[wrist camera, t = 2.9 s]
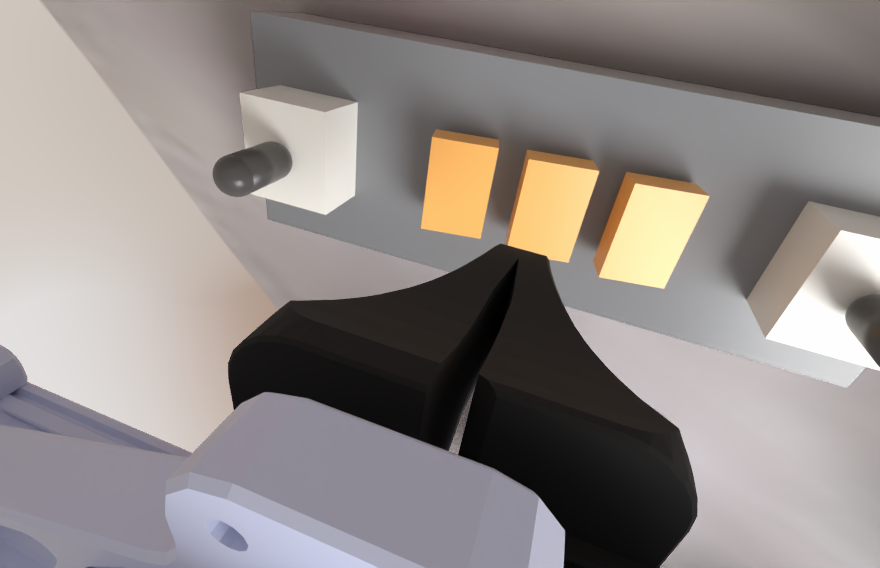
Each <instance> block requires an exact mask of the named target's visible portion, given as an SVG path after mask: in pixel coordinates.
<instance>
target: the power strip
mask: <svg viewBox="0 0 880 568" xmlns="http://www.w3.org/2000/svg"><path fill="white" fill-rule="evenodd" d="M250 18H251V30H252V41H253V53H254V65H255V76H256V88H257V89H261V88H267V87H272V86H278V85H282V86H287V87H292V88H296V89H301V90H305V91H310V92H314V93H319V94H323V95H328V96H333V97H337V98H342V99H346V100H351V101H355V102H358V115H357V148H356V180H355V196H353V197H352V198H350V199H349V200H347V201H346V202H344V203H343V204H341V205H340V206H338V207H337V208H335V209H334V210H333V211H331V212H330V213H328V214H327V215H324V214H320V213H317V212H313V211H310V210H306V209H303V208H299V207H295V206H292V205H288V204H285V203H281V202H278V201H274V200H271V199H267V198H266V204H267V216H268V219H269V220H272V221H276V222H279V223H283V224H286V225H290V226H293V227H296V228H300V229H303V230H307V231H310V232H314V233H317V234H321V235H324V236H327V237H331V238H334V239H338V240H341V241H345V242H348V243H351V244H355V245H358V246H362V247H365V248H369V249H372V250H375V251H379V252H382V253H386V254H389V255H393V256H396V257H399V258H403V259H406V260H410V261H413V262H417V263H420V264H423V265H427V266H430V267H434V268H437V269H441V270H444V271H447V272H452V271H454V270H456V269H458V268H460V267H462V266H464V265H465V264H467V263H469V262H471V261H472V260H474V259H476V258H477V257H479V256H481V255H482V254H484V253H485V252H487V251H488V250H490V249H491V248H493V247H495V246H496V245H498V244H500V243H501V244H504V245H506V235H507V231H508V227H509V222H510V218H511V214H512V210H513V206H514V202H515V198H516V193H517V189H518V185H519V181H520V177H521V173H522V169H523V165H524V160H525V156H526V152H527V150H533V151H539V152H545V153H551V154H557V155H563V156H569V157H575V158H580V159H586V160H592V161H594V163H595V164H596V166H597V168H598V169H599V174H598V177H597V180H596V183H595V186H594V189H593V192H592V195H591V198H590V201H589V204H588V206H587V209H586V212H585V215H584V218H583V221H582V224H581V227H580V230H579V233H578V236H577V239H576V242H575V245H574V248H573V251H572V253H571V256H570V259H569V262H568V263H567V262H561V261H556V260H550V259H549V261H550V268H551V272H552V276H553V279H554V282H555V285H556V288H557V290H558V293H559V295H560V298H561V300H562V303H563V305H564V306H568V307H571V308H574V309H578V310H581V311H585V312H588V313H592V314H595V315H598V316H602V317H605V318H609V319H612V320H616V321H619V322H622V323H626V324H629V325H633V326H636V327H640V328H643V329H646V330H650V331H653V332H657V333H660V334H664V335H667V336H670V337H674V338H677V339H681V340H684V341H688V342H691V343H694V344H698V345H701V346H705V347H708V348H712V349H715V350H718V351H722V352H725V353H729V354H732V355H736V356H739V357H743V358H746V359H749V360H753V361H756V362H760V363H763V364H767V365H770V366H773V367H777V368H780V369H784V370H787V371H791V372H794V373H797V374H801V375H804V376H808V377H811V378H815V379H818V380H821V381H825V382H828V383H832V384H835V385H839V386H842V387H845V388H848V386H849V385H850V384H851V383H852V382H853V381H854V380H855V379H856V378H857V376H858V375H859V374H860V373H861V372H862V371H863V370H864V369H865V368H866V367H865V366H862V365H858V364H855V363H851V362H847V361H844V360H840V359H837V358H833V357H830V356H826V355H823V354H819V353H815V352H812V351H808V350H805V349H801V348H798V347H794V346H791V345H787V344H783V343H780V342H776V341H773V340H769V339H766V338H765V337H764V335H763V333H762V331H761V329H760V327H759V325H758V322H757V320H756V318H755V316H754V314H753V312H752V310H751V308H750V306H749V304H748V302H747V298H748V296H749V295H750V293H751V292H752V290H753V288H754V287H755V285H756V284H757V282H758V280H759V279H760V277H761V276H762V274H763V273H764V271H765V269H766V268H767V266H768V265H769V263H770V261H771V260H772V258H773V257H774V255H775V253H776V252H777V250H778V249H779V247H780V246H781V244H782V242H783V241H784V239H785V238H786V236H787V234H788V233H789V231H790V230H791V228H792V226H793V225H794V223H795V222H796V220H797V219H798V217H799V215H800V214H801V212H802V211H803V209H804V207H805V206H806V204H807V203H808V201H810V202H815V203H820V204H824V205H829V206H833V207H838V208H842V209H847V210H851V211H856V212H860V213H865V214H870V215H874V216H879V217H880V117H876V116H871V115H865V114H860V113H854V112H849V111H843V110H837V109H832V108H826V107H821V106H815V105H810V104H804V103H799V102H793V101H787V100H782V99H776V98H771V97H765V96H760V95H754V94H749V93H743V92H738V91H732V90H726V89H721V88H715V87H710V86H704V85H699V84H693V83H688V82H682V81H676V80H671V79H665V78H660V77H654V76H649V75H643V74H638V73H632V72H627V71H621V70H615V69H610V68H604V67H599V66H593V65H588V64H582V63H577V62H571V61H565V60H560V59H554V58H549V57H543V56H538V55H532V54H527V53H521V52H516V51H510V50H504V49H499V48H493V47H488V46H482V45H477V44H471V43H466V42H460V41H454V40H449V39H443V38H438V37H432V36H427V35H421V34H416V33H410V32H405V31H399V30H393V29H388V28H382V27H377V26H371V25H366V24H360V23H355V22H349V21H343V20H338V19H332V18H327V17H321V16H316V15H310V14H305V13H292V12H266V11H250ZM436 129H439V130H444V131H450V132H456V133H462V134H468V135H474V136H480V137H486V138H492V139H498V140H499V151H498V156H497V161H496V166H495V171H494V175H493V180H492V185H491V190H490V195H489V200H488V204H487V209H486V214H485V219H484V224H483V229H482V233H481V238H480V239H478V238H473V237H467V236H461V235H455V234H450V233H444V232H438V231H432V230H427V229H421V223H422V215H423V207H424V199H425V191H426V183H427V174H428V166H429V158H430V150H431V142H432V136H433V134H434V132H435V130H436ZM626 172H631V173H636V174H642V175H648V176H654V177H660V178H666V179H672V180H678V181H684V182H690V183H696V184H697V185H698V186H699V187H700V188H701V189H702V190H704V191H705V192H706V193H707V194H708V195H709V196H710V197H709V199H708V201H707V203H706V205H705V207H704V209H703V211H702V213H701V215H700V217H699V219H698V221H697V223H696V225H695V227H694V229H693V231H692V233H691V235H690V237H689V239H688V241H687V243H686V245H685V247H684V249H683V251H682V253H681V255H680V257H679V259H678V261H677V263H676V265H675V267H674V269H673V271H672V273H671V275H670V278H669V280H668V282H667V284H666V286H665V288H664V289H663V288H657V287H651V286H646V285H640V284H634V283H629V282H623V281H617V280H611V279H606V278H600V277H598V274H597V271H596V269H595V266H594V263H593V260H594V257H595V254H596V252H597V249H598V246H599V244H600V241H601V238H602V236H603V233H604V230H605V228H606V225H607V222H608V220H609V217H610V214H611V212H612V209H613V206H614V204H615V201H616V198H617V196H618V193H619V190H620V187H621V185H622V182H623V179H624V177H625V174H626Z"/></svg>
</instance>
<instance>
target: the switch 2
mask: <svg viewBox="0 0 880 568" xmlns="http://www.w3.org/2000/svg"><path fill="white" fill-rule="evenodd" d="M709 197H710V196H709V195H708V194H707V193H706V192H705V191H704V190H702V189H701V188H700V187H699V186H698V185H697V184H696V183H690V182H684V181H678V180H672V179H666V178H660V177H654V176H648V175H642V174H636V173H631V172H626V174H625V177H624V179H623V182H622V185H621V187H620V190H619V193H618V196H617V198H616V201H615V204H614V206H613V209H612V212H611V214H610V217H609V220H608V222H607V225H606V228H605V230H604V233H603V236H602V238H601V241H600V244H599V246H598V249H597V252H596V254H595V257H594V260H593V263H594V266H595V269H596V271H597V274H598V277H600V278H606V279H611V280H617V281H623V282H629V283H634V284H640V285H646V286H651V287H657V288H663V289H664V288H665V286H666V284H667V282H668V280H669V278H670V275H671V273H672V271H673V269H674V267H675V265H676V263H677V261H678V259H679V257H680V255H681V253H682V251H683V249H684V247H685V245H686V243H687V241H688V239H689V237H690V235H691V233H692V231H693V229H694V227H695V225H696V223H697V221H698V219H699V217H700V215H701V213H702V211H703V209H704V207H705V205H706V203H707V201H708V199H709Z"/></svg>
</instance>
